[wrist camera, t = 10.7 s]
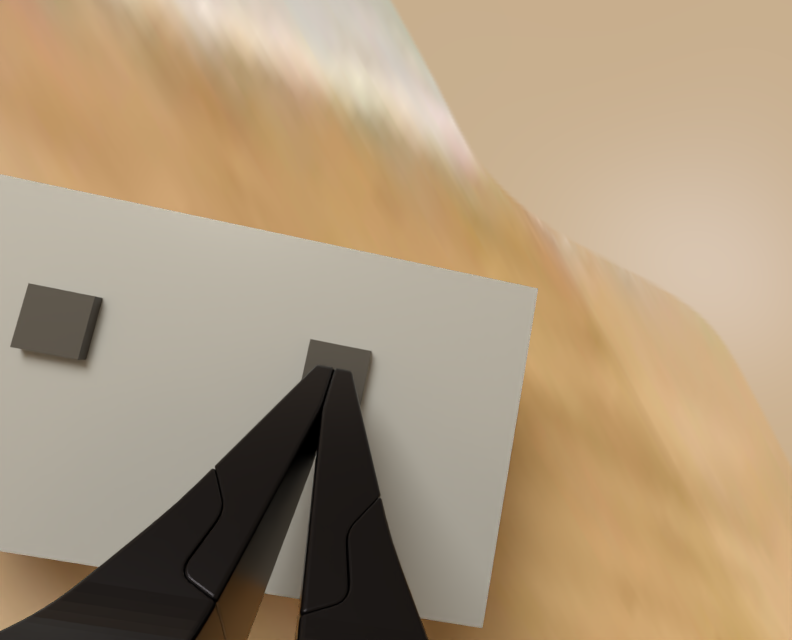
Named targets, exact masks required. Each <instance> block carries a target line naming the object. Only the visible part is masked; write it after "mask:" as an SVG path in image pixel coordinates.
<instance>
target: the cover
mask: <svg viewBox="0 0 792 640" xmlns="http://www.w3.org/2000/svg"><path fill="white" fill-rule="evenodd" d="M537 292H538V288H533V287H528V286H524V285H519V284H514V283H509V282H505V281H500V280H495V279H491V278H486V277H481V276H477V275H472V274H467V273H462V272H458V271H453V270H448V269H444V268H439V267H434V266H429V265H425V264H420V263H415V262H411V261H406V260H401V259H397V258H392V257H387V256H382V255H378V254H373V253H368V252H364V251H359V250H354V249H349V248H345V247H340V246H335V245H331V244H326V243H321V242H317V241H312V240H307V239H302V238H298V237H293V236H288V235H284V234H279V233H274V232H270V231H265V230H260V229H255V228H251V227H246V226H241V225H237V224H232V223H227V222H222V221H218V220H213V219H208V218H204V217H199V216H194V215H190V214H185V213H180V212H175V211H171V210H166V209H161V208H157V207H152V206H147V205H142V204H138V203H133V202H128V201H124V200H119V199H114V198H110V197H105V196H100V195H95V194H91V193H86V192H81V191H77V190H72V189H67V188H63V187H58V186H53V185H48V184H44V183H39V182H34V181H30V180H25V179H20V178H15V177H11V176H6V175H1V174H0V551H2V552H8V553H15V554H21V555H27V556H33V557H40V558H46V559H52V560H58V561H65V562H71V563H77V564H83V565H90V566H96V567H99V566H100V565H102V564H103V563H104V562H105V561H107V560H108V559H109V558H110V557H111V556H113V555H114V554H115V553H116V552H118V551H119V550H120V549H121V548H122V547H124V546H125V545H126V544H127V543H129V542H130V541H131V540H132V539H134V538H135V537H136V536H137V535H138V534H140V533H141V532H142V531H143V530H145V529H146V528H147V527H148V526H149V525H151V524H152V523H153V522H154V521H155V520H157V519H158V518H159V517H160V516H161V515H162V514H164V513H165V512H166V511H167V510H168V509H169V508H171V507H172V506H173V505H174V504H175V503H176V502H177V501H179V500H180V499H181V498H182V497H183V496H184V495H185V494H186V493H187V492H188V491H189V490H190V489H191V488H192V487H193V486H195V485H196V484H197V483H198V482H199V481H200V480H201V479H202V478H203V477H204V476H205V475H206V474H207V473H208V472H209V471H210V470H211V469H212V468H214V469H215V465H216V464H217V463H218V462H219V461H220V460H221V459H222V458H223V457H224V456H225V455H226V454H227V453H228V452H229V451H230V450H231V449H232V448H233V447H234V446H235V445H236V444H237V443H238V442H239V441H240V440H241V439H242V438H243V437H244V436H245V435H246V434H247V433H248V432H249V431H250V430H251V429H252V428H253V427H254V426H255V425H256V424H257V423H258V422H259V421H260V420H261V419H262V418H263V417H264V416H265V415H266V414H267V413H268V412H269V411H270V410H271V409H272V408H273V407H274V406H275V405H276V404H277V403H278V402H279V401H280V400H281V399H282V398H283V397H285V396H286V395H287V394H288V393H289V392H290V391H291V390H292V389H293V388H294V387H295V386H296V385H297V384H298V383H299V382H300V381H301V380H302V379H303V378H304V377H305V376H306V375H307V374H308V373H309V372H310V371H311V370H312V369H313V368H314V367H315V366H316V365H325V366H330V367H333V369H336V368H340V369H345V370H350V371H351V372H352V374H353V378H354V383H355V387H356V391H357V395H358V400H359V404H360V408H361V412H362V417H363V421H364V425H365V430H366V434H367V438H368V442H369V447H370V451H371V455H372V459H373V464H374V468H375V472H376V476H377V481H378V485H379V489H380V493H381V497H380V498H382V501H383V505H384V510H385V514H386V518H387V521H388V525H389V529H390V532H391V536H392V540H393V543H394V546H395V549H396V552H397V555H398V558H399V561H400V564H401V567H402V570H403V572H404V575H405V578H406V580H407V583H408V586H409V589H410V591H411V594H412V597H413V599H414V602H415V605H416V608H417V610H418V613H419V616H420V618H422V619H428V620H434V621H440V622H447V623H453V624H459V625H465V626H472V627H478V628H483V622H484V616H485V610H486V604H487V598H488V591H489V585H490V579H491V573H492V567H493V561H494V555H495V549H496V543H497V536H498V530H499V524H500V518H501V512H502V506H503V500H504V494H505V488H506V482H507V475H508V469H509V463H510V457H511V451H512V445H513V439H514V433H515V427H516V420H517V414H518V408H519V402H520V396H521V390H522V384H523V378H524V372H525V366H526V359H527V353H528V347H529V341H530V335H531V329H532V323H533V317H534V311H535V304H536V298H537ZM315 460H316V456H315V459H314V462H313V465H312V468H311V470H310V473H309V476H308V478H307V481H306V484H305V486H304V489H303V492H302V494H301V497H300V500H299V502H298V505H297V508H296V510H295V513H294V516H293V518H292V521H291V524H290V526H289V529H288V532H287V534H286V537H285V540H284V542H283V545H282V548H281V550H280V553H279V556H278V558H277V561H276V564H275V566H274V569H273V572H272V574H271V577H270V580H269V582H268V585H267V588H266V590H265V594H271V595H278V596H284V597H290V598H296V599H300V591H301V582H302V573H303V565H304V556H305V547H306V538H307V529H308V520H309V512H310V503H311V494H312V485H313V476H314V468H315Z"/></svg>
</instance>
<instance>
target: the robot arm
mask: <svg viewBox="0 0 792 640" xmlns="http://www.w3.org/2000/svg"><path fill="white" fill-rule="evenodd" d="M315 456H316V460H315V468H314V476H313V485H312V494H311V503H310V512H309V520H308V529H307V538H306V547H305V556H304V565H303V573H302V582H301V591H300V600H299V609H298V617H297V626H296V635H295V640H428V637H427V635H426V632H425V629H424V626H423V624H422V621H421V618H420V616H419V613H418V610H417V608H416V605H415V602H414V599H413V597H412V594H411V591H410V589H409V586H408V583H407V580H406V578H405V575H404V572H403V570H402V567H401V564H400V561H399V558H398V555H397V552H396V549H395V546H394V543H393V540H392V536H391V532H390V529H389V525H388V521H387V518H386V514H385V510H384V505H383V501H382V498H380V497H381V493H380V489H379V485H378V481H377V476H376V472H375V468H374V464H373V459H372V455H371V451H370V447H369V442H368V438H367V434H366V430H365V425H364V421H363V417H362V412H361V408H360V404H359V400H358V395H357V391H356V387H355V383H354V378H353V374H352V372H351V371H350V370H345V369H340V368H336V369H333V367H330V366H325V365H316V366H315V367H314V368H313V369H312V370H311V371H310V372H309V373H308V374H307V375H306V376H305V377H304V378H303V379H302V380H301V381H300V382H299V383H298V384H297V385H296V386H295V387H294V388H293V389H292V390H291V391H290V392H289V393H288V394H287V395H286V396H285V397H283V398H282V399H281V400H280V401H279V402H278V403H277V404H276V405H275V406H274V407H273V408H272V409H271V410H270V411H269V412H268V413H267V414H266V415H265V416H264V417H263V418H262V419H261V420H260V421H259V422H258V423H257V424H256V425H255V426H254V427H253V428H252V429H251V430H250V431H249V432H248V433H247V434H246V435H245V436H244V437H243V438H242V439H241V440H240V441H239V442H238V443H237V444H236V445H235V446H234V447H233V448H232V449H231V450H230V451H229V452H228V453H227V454H226V455H225V456H224V457H223V458H222V459H221V460H220V461H219V462H218V463H217V464H216V465H215V469H214V468H212V469H211V470H210V471H209V472H208V473H207V474H206V475H205V476H204V477H203V478H202V479H201V480H200V481H199V482H198V483H197V484H196V485H195V486H193V487H192V488H191V489H190V490H189V491H188V492H187V493H186V494H185V495H184V496H183V497H182V498H181V499H180V500H179V501H177V502H176V503H175V504H174V505H173V506H172V507H171V508H169V509H168V510H167V511H166V512H165V513H164V514H162V515H161V516H160V517H159V518H158V519H157V520H155V521H154V522H153V523H152V524H151V525H149V526H148V527H147V528H146V529H145V530H143V531H142V532H141V533H140V534H138V535H137V536H136V537H135V538H134V539H132V540H131V541H130V542H129V543H127V544H126V545H125V546H124V547H122V548H121V549H120V550H119V551H118V552H116V553H115V554H114V555H113V556H111V557H110V558H109V559H108V560H107V561H105V562H104V563H103V564H102V565H100V566H99V567H98V568H97V569H96V570H94V571H93V572H92V573H91V574H89V575H88V576H87V577H86V578H84V579H83V580H82V581H81V582H79V583H78V584H77V585H76V586H74V587H73V588H72V589H71V590H69V591H68V592H67V593H65V594H64V595H62V596H61V597H60V598H58V599H57V600H55V601H54V602H52V603H51V604H49V605H48V606H46V607H44V608H43V609H41V610H39V611H38V612H36V613H34V614H33V615H31V616H29V617H27V618H25V619H23V620H22V621H20V622H18V623H16V624H14V625H12V626H10V627H8V628H6V629H4V630H2V631H0V640H247V638H248V636H249V633H250V630H251V628H252V625H253V622H254V620H255V617H256V614H257V612H258V609H259V606H260V604H261V601H262V598H263V596H264V593H265V590H266V588H267V585H268V582H269V580H270V577H271V574H272V572H273V569H274V566H275V564H276V561H277V558H278V556H279V553H280V550H281V548H282V545H283V542H284V540H285V537H286V534H287V532H288V529H289V526H290V524H291V521H292V518H293V516H294V513H295V510H296V508H297V505H298V502H299V500H300V497H301V494H302V492H303V489H304V486H305V484H306V481H307V478H308V476H309V473H310V470H311V468H312V465H313V462H314V459H315Z"/></svg>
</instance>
